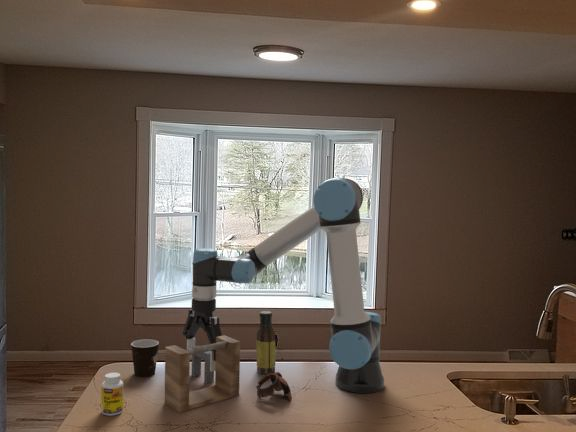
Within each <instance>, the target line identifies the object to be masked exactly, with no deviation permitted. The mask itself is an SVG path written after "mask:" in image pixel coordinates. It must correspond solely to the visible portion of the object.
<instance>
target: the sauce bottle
mask: <svg viewBox="0 0 576 432" xmlns="http://www.w3.org/2000/svg"><path fill="white" fill-rule="evenodd" d="M259 317H260V319H259V320H260V321H259V322H260V323H259V327H258V330H257V332H256V371H257V372H258V373H259V374H263V375H268V374H271V373H275V371H276V332H275V329H274V328H273V326H272V325H273V324H272V323H273V322H272V317H273V312H272V311H269V310H262V311H260V312H259Z"/></svg>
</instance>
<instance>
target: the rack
mask: <svg viewBox="0 0 576 432" xmlns="http://www.w3.org/2000/svg"><path fill="white" fill-rule="evenodd" d="M198 346H199V347H195V348H190V349H187V348H182V347H180V346H178V345H176V344H175V345H174V344H173V345H169V346H165V347H164V348H165V349H164V404H166V405H167V406H169V407H170V408H172V409H173V410H175V411H177V413H181V412H187V411H190V410H192V409H196V408H199V407H202V406H206V405H209V404H213V403H216V402H220V401H224V400H227V399H230V398H234V397H237V396H240V373H241V372H240V368H241V367H240V365H241V364H240V363H241V359H240V358H241V341H240V340H238V339H235V338H232V337H230V336H227V335H225V334H222V336H218V337H216V343H214V344H210V343H209V344H205V345H198ZM212 350H216V368H215V371H214V385H212V386H208V387H204V388H200V389H195V390H192V391H190V370H191V368H190V365H191V364H190V361H191V359H190V355H193V354H198V353H202V352H207V351H212Z"/></svg>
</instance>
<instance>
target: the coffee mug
mask: <svg viewBox="0 0 576 432" xmlns="http://www.w3.org/2000/svg"><path fill="white" fill-rule="evenodd" d="M130 345H131V354H132V364H133V371H134V373H133V375H134V376H135V377H137V378H149V377H150V378H151V377H153V376H155V375H156V368H157V361H158V354H159V353H158V352H159V345H160V343H159V341H158V340H155V339H146V338H145V339H138V340H133V342H131V343H130Z"/></svg>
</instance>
